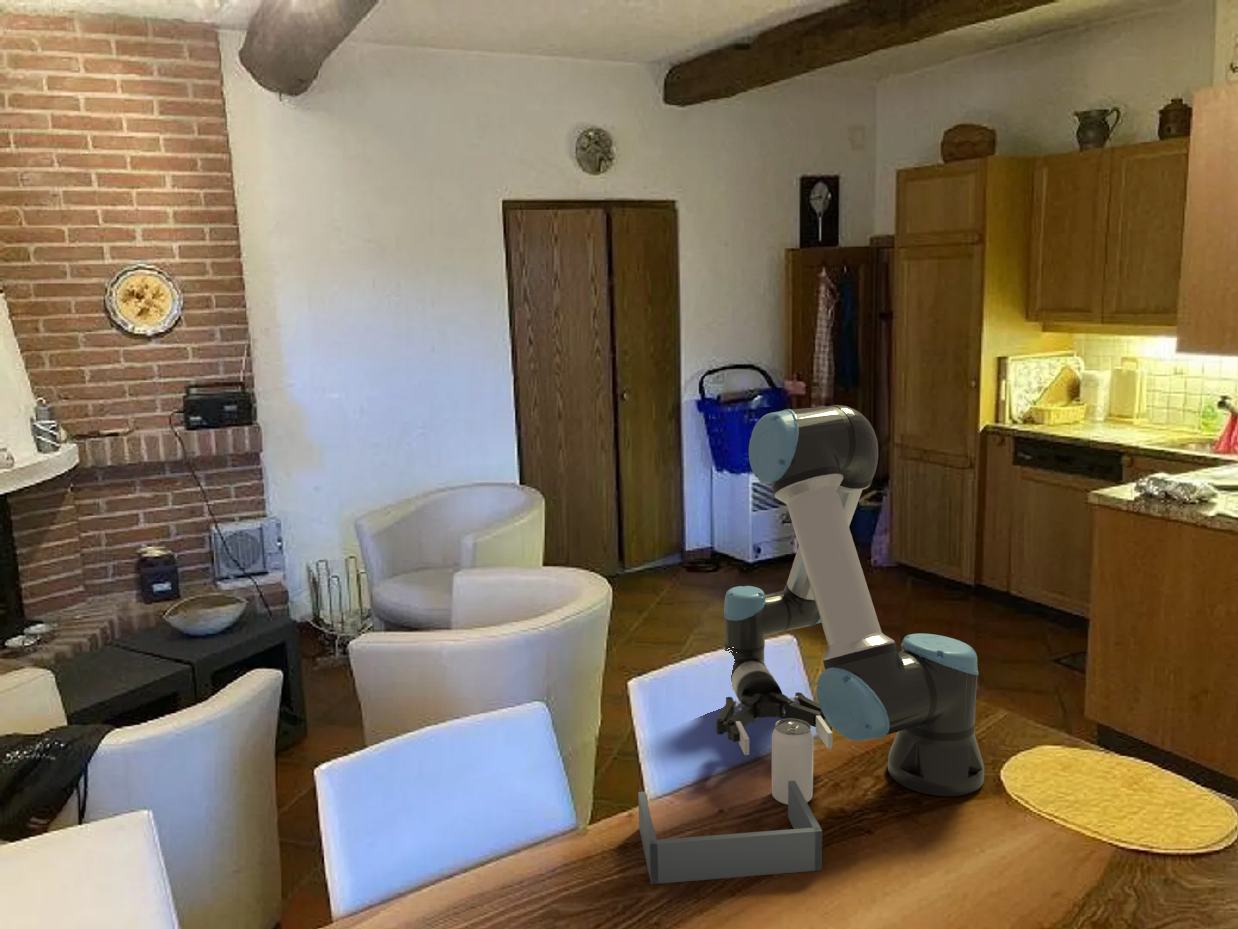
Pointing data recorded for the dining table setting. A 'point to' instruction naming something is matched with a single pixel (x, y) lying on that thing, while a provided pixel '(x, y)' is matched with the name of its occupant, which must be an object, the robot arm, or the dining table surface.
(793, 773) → the can
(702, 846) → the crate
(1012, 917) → the dining table surface
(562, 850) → the dining table surface
